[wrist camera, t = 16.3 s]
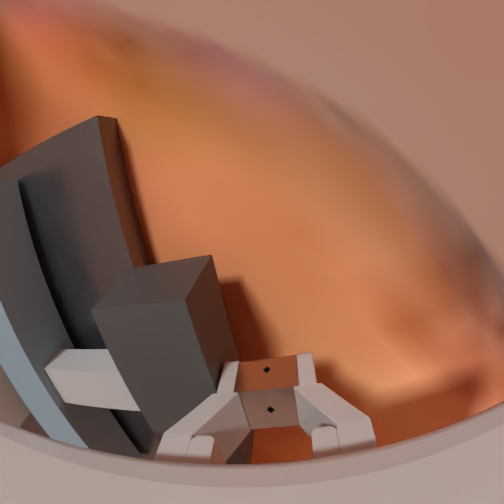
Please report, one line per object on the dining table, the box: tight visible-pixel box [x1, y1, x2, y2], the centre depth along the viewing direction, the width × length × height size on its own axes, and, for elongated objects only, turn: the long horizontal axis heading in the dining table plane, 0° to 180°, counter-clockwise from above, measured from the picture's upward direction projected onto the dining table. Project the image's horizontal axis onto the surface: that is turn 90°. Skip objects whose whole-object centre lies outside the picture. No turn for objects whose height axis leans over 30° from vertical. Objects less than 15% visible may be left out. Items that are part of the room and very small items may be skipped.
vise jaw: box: [0, 178, 254, 464], centre depth 11 cm, size 11×18×3 cm, turn 11°
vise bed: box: [0, 116, 160, 460], centre depth 13 cm, size 20×20×4 cm
